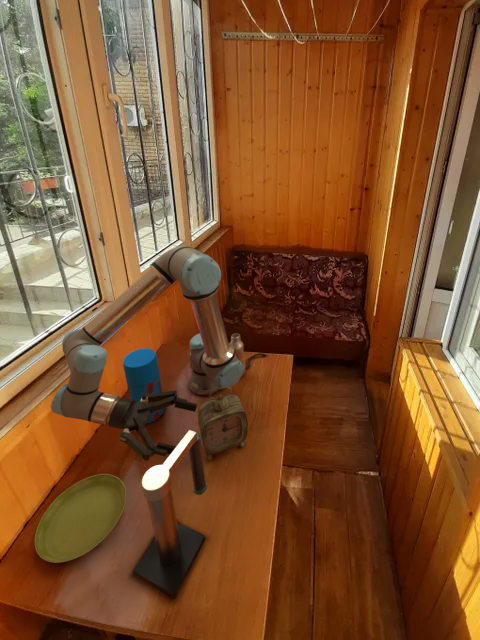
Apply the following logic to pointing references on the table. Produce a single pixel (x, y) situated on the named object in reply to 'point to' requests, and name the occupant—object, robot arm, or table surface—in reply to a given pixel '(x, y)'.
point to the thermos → (143, 376)
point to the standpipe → (168, 549)
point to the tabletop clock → (222, 423)
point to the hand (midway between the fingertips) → (189, 428)
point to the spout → (159, 476)
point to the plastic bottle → (238, 348)
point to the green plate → (80, 518)
